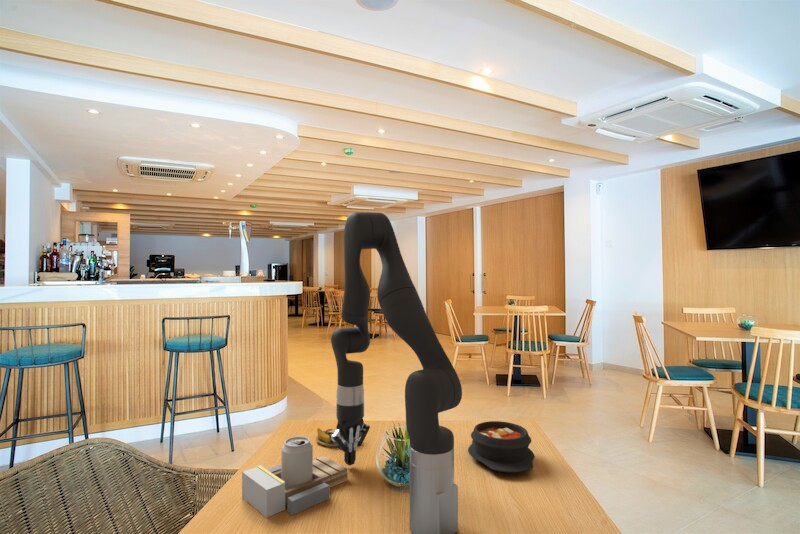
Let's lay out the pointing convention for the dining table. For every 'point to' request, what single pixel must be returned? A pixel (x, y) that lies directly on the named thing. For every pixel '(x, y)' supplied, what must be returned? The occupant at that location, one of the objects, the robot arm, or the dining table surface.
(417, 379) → the robot arm
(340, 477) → the pallet
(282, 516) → the dining table surface
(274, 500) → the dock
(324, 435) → the toy sandwich meal
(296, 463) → the can
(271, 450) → the dining table surface
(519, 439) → the casserole
